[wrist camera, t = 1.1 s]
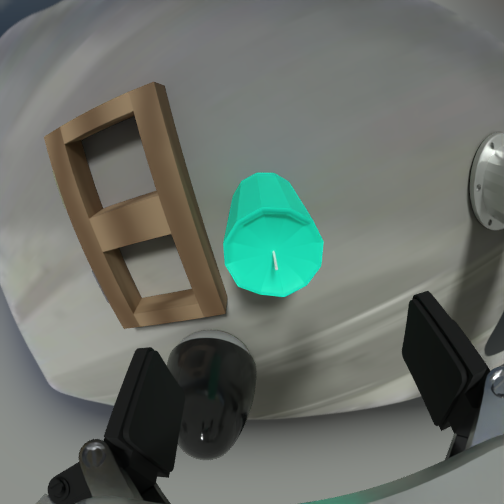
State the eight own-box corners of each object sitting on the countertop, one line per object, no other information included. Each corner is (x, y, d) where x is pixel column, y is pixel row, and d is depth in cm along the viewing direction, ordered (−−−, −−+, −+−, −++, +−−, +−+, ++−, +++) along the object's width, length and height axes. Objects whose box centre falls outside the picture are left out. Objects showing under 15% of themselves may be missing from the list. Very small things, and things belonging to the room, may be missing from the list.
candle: (241, 164, 24) (234, 201, 13) (305, 182, 25) (348, 232, 14) (225, 225, 27) (209, 301, 16) (286, 240, 27) (308, 321, 17)
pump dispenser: (202, 299, 30) (177, 421, 17) (272, 343, 33) (282, 456, 20) (158, 347, 34) (128, 449, 20) (223, 381, 37) (216, 479, 23)
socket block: (164, 85, 21) (153, 81, 18) (227, 296, 30) (225, 313, 27) (58, 135, 22) (41, 138, 19) (129, 312, 31) (121, 328, 29)
